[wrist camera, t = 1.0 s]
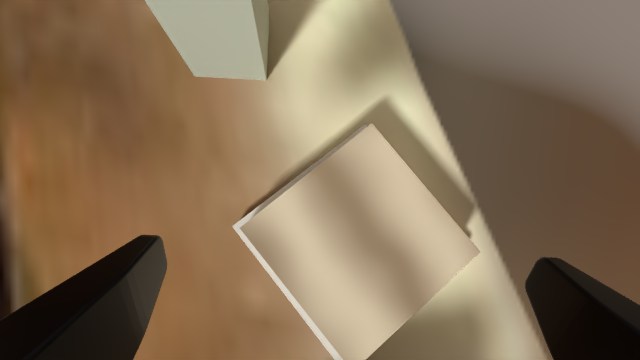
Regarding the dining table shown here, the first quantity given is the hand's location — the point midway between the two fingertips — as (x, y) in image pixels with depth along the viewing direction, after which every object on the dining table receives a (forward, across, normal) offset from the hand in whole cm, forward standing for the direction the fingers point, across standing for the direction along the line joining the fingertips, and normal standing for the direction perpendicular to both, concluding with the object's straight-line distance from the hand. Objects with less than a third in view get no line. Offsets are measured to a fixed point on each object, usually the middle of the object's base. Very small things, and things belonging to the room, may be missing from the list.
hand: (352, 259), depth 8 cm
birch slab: (+10, -2, +8) cm, 13 cm away
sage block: (+19, +7, -2) cm, 21 cm away
